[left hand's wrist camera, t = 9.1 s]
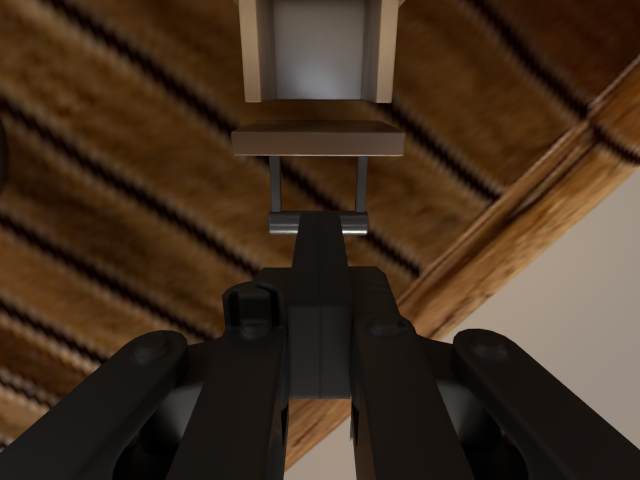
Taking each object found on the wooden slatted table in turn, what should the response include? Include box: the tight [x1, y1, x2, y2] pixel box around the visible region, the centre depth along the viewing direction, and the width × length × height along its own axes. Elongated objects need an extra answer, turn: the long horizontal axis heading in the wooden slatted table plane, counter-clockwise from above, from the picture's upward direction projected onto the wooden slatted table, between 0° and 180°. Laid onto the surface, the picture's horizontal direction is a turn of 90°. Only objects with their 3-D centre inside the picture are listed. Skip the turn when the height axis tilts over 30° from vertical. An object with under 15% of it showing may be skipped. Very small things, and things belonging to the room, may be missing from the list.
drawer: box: [231, 0, 406, 235], centre depth 21 cm, size 22×9×9 cm, turn 0°
